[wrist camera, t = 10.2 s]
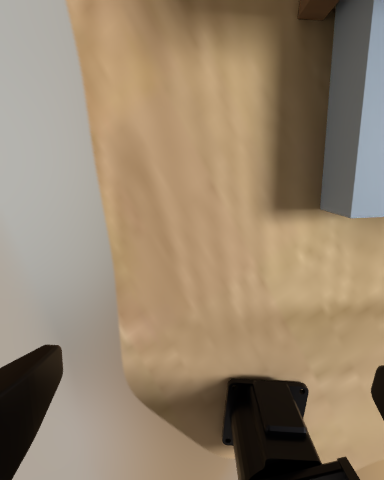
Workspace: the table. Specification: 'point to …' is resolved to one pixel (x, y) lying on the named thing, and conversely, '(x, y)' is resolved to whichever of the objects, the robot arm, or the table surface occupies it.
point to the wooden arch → (315, 9)
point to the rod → (356, 113)
